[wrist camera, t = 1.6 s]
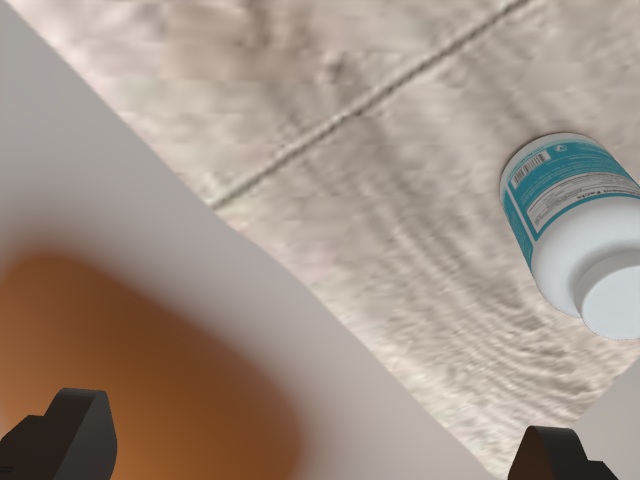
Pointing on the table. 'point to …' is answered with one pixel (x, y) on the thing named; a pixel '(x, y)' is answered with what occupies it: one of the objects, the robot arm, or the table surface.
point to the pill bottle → (578, 230)
